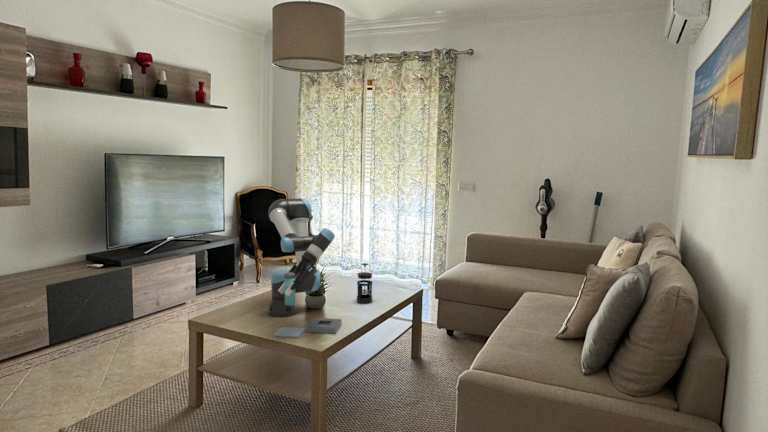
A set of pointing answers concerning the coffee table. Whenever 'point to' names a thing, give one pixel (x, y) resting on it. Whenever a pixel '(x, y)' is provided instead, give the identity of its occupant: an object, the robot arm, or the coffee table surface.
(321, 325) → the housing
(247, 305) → the coffee table surface
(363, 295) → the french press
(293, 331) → the mat
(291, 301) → the plug
